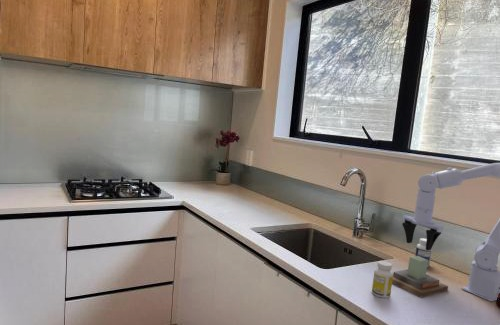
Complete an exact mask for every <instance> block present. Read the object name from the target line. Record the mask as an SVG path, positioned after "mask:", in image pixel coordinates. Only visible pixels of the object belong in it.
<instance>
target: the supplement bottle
mask: <svg viewBox="0 0 500 325" xmlns="http://www.w3.org/2000/svg"><path fill="white" fill-rule="evenodd" d="M392 268H393V264H392V263H391V262H388V261H384V260H380V261H378V262H377V267H376V268H375V269H374V272H373V279H372V286H371V294H373V295H374V296H376V297H378V298H384V299H387V298H388V299H389V298H390V297H391V294H392V285H393V283H392V280H393V273H394V271H392Z"/></svg>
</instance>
